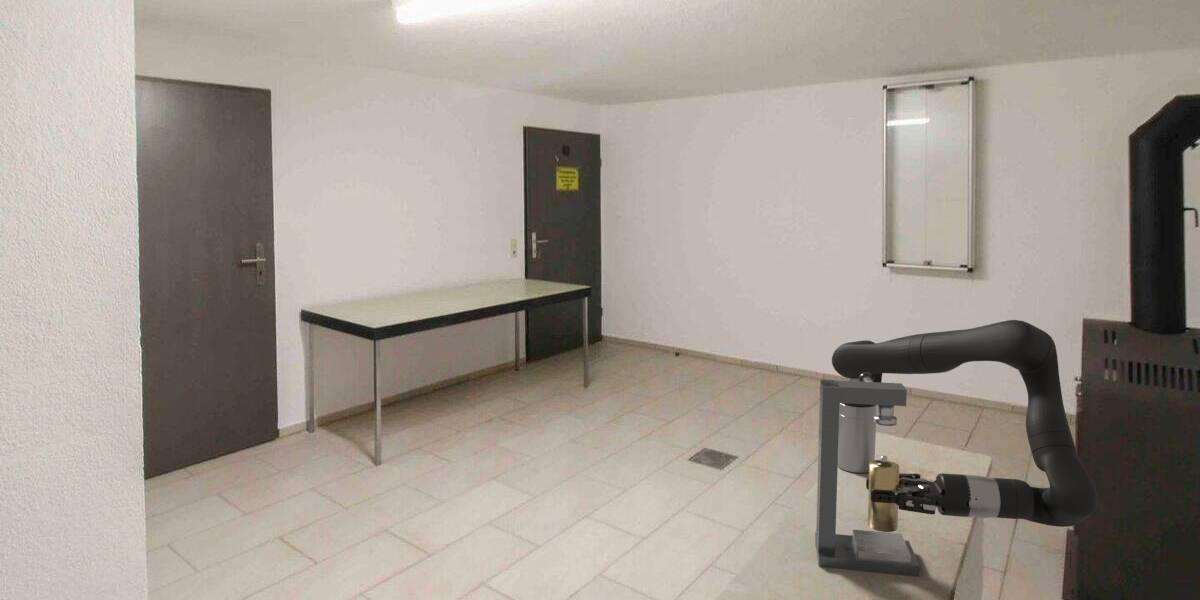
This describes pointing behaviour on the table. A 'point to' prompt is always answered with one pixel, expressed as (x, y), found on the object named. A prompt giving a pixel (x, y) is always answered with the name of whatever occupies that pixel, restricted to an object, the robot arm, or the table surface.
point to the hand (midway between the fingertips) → (869, 489)
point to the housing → (883, 478)
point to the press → (833, 548)
